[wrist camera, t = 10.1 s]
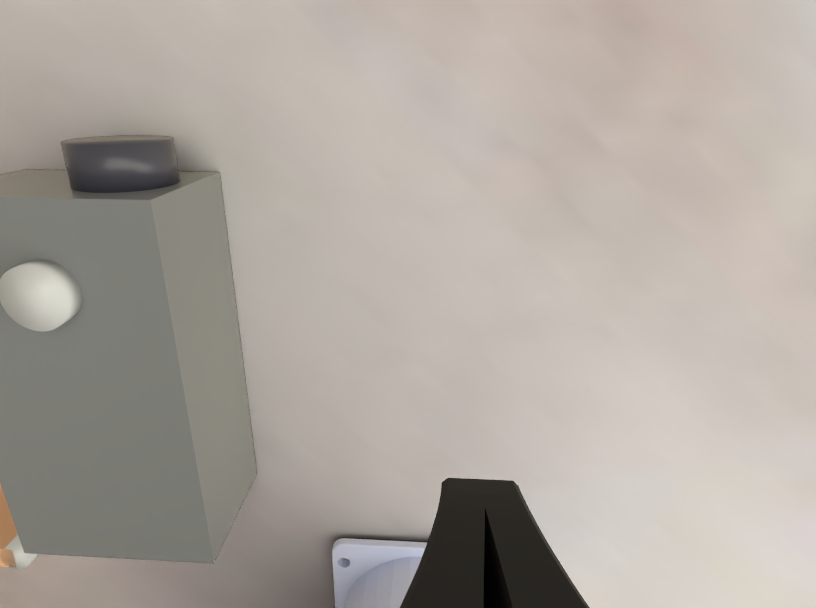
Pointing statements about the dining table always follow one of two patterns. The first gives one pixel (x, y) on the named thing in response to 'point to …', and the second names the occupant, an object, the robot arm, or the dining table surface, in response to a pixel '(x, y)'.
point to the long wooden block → (11, 540)
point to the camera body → (120, 356)
